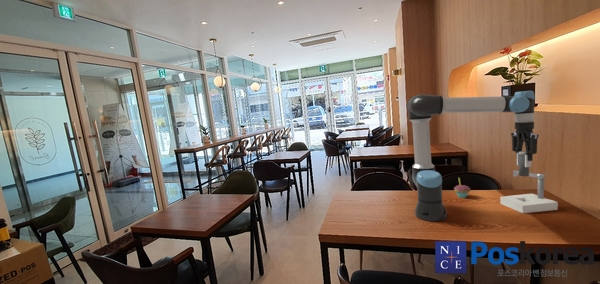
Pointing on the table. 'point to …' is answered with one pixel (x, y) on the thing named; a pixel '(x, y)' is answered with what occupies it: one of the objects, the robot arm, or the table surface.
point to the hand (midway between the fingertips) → (523, 165)
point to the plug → (523, 164)
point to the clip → (540, 176)
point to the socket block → (530, 201)
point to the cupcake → (462, 190)
